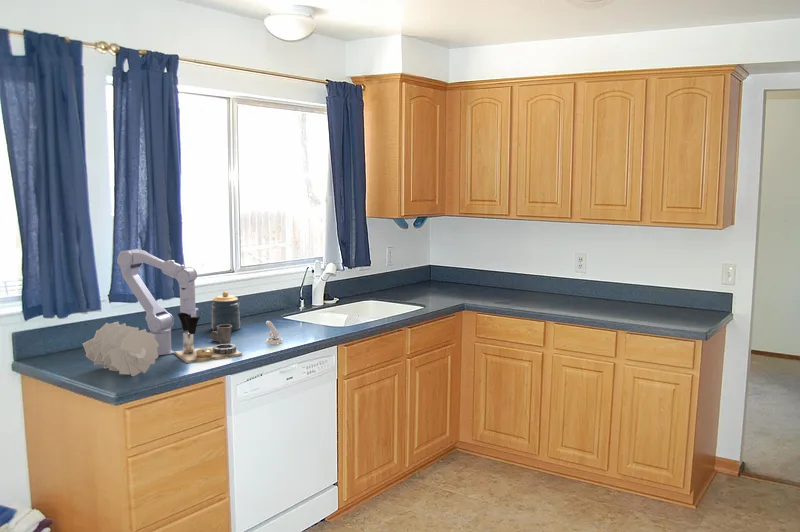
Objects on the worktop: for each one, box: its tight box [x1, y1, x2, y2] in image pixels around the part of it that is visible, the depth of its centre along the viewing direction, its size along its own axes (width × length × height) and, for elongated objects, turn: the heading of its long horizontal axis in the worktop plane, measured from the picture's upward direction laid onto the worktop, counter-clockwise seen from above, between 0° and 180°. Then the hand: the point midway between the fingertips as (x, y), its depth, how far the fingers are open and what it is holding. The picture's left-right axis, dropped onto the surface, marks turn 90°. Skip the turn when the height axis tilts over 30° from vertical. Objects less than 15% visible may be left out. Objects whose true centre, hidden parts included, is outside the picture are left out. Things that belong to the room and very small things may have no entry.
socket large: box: [212, 343, 237, 354], centre depth 279 cm, size 9×9×2 cm
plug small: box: [196, 349, 212, 358], centre depth 272 cm, size 6×6×2 cm
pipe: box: [209, 324, 232, 344], centre depth 297 cm, size 6×13×8 cm, turn 51°
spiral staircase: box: [82, 321, 159, 377], centre depth 252 cm, size 18×18×25 cm
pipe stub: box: [182, 331, 195, 354], centre depth 276 cm, size 4×4×8 cm
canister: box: [210, 291, 241, 332], centre depth 322 cm, size 13×13×18 cm
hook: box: [265, 320, 284, 345], centre depth 298 cm, size 8×12×7 cm
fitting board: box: [174, 346, 243, 364], centre depth 278 cm, size 22×16×1 cm
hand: (189, 332), depth 275 cm, fingers open, 7 cm apart
